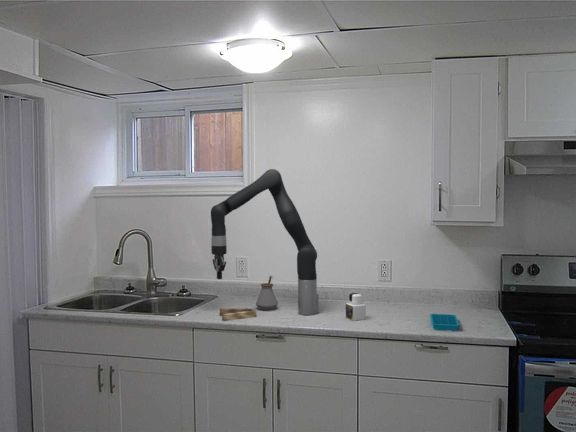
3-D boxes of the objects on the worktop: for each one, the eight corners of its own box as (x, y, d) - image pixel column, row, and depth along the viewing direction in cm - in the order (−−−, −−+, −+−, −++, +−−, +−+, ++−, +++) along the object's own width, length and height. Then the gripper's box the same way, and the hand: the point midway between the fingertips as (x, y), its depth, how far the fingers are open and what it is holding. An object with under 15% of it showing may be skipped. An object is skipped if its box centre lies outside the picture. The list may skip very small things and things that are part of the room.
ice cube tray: (431, 331, 228) (431, 324, 227) (429, 319, 247) (430, 313, 247) (459, 332, 225) (459, 325, 225) (455, 321, 245) (455, 314, 244)
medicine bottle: (345, 317, 251) (345, 292, 250) (358, 316, 254) (358, 291, 253) (352, 321, 244) (352, 295, 244) (366, 319, 247) (366, 294, 246)
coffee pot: (276, 311, 264) (276, 282, 263) (254, 311, 266) (253, 281, 265) (281, 302, 285) (281, 275, 285) (261, 302, 287) (260, 275, 286)
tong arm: (254, 313, 258) (254, 308, 258) (254, 314, 256) (254, 309, 256) (220, 314, 258) (220, 308, 258) (219, 315, 256) (219, 309, 256)
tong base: (255, 315, 257) (255, 308, 257) (258, 316, 254) (258, 309, 254) (221, 319, 248) (221, 312, 248) (223, 321, 245) (223, 314, 245)
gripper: (231, 245, 257) (231, 280, 258) (220, 243, 269) (221, 276, 270) (216, 246, 254) (217, 281, 255) (207, 243, 265) (207, 277, 266)
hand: (219, 278), depth 262 cm, fingers closed
